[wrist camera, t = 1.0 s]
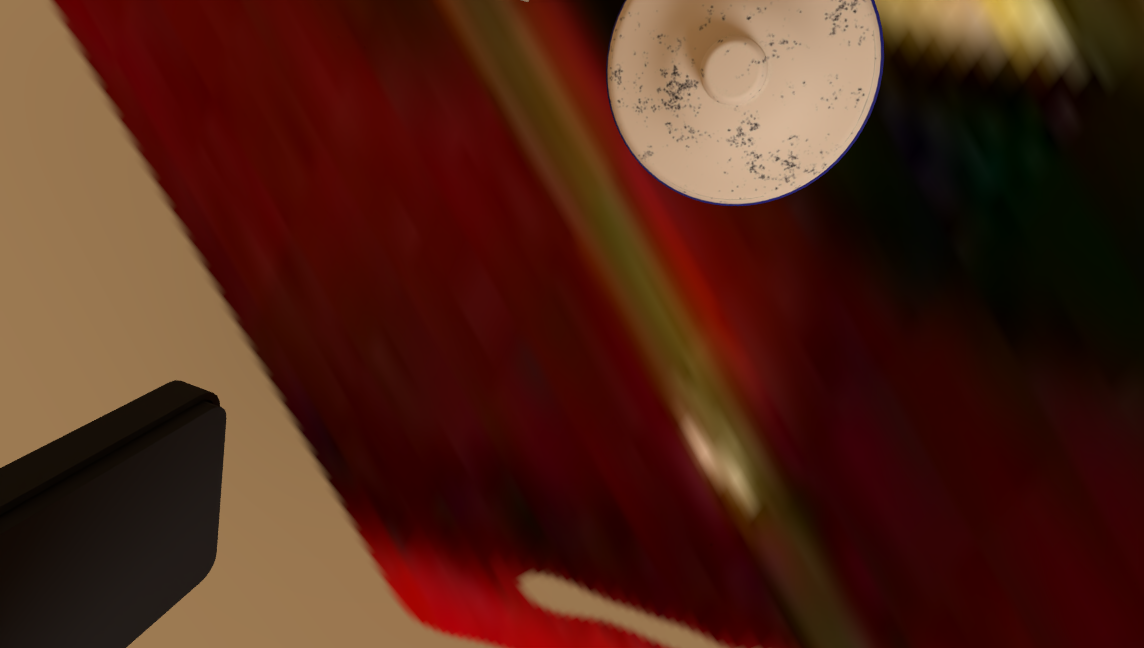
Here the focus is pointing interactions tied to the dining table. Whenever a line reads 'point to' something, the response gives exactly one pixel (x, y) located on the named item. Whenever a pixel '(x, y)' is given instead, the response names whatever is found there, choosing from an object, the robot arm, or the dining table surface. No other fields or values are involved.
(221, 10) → the dining table surface
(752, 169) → the teacup with lid
